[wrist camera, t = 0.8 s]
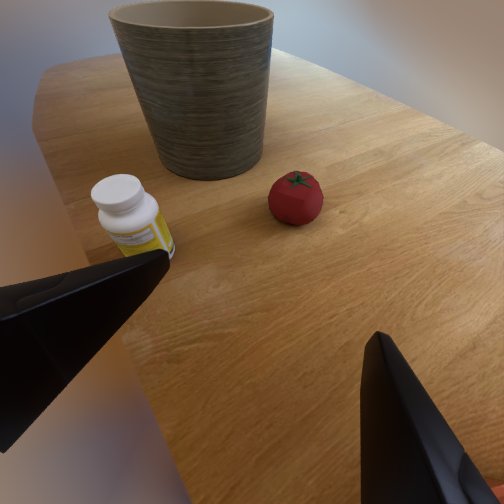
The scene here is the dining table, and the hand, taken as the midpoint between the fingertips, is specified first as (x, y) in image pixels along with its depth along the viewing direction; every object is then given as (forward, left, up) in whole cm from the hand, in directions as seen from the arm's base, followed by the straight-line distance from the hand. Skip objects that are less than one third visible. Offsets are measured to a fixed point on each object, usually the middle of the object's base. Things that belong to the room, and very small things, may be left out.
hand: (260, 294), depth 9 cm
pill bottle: (+1, +20, -17) cm, 26 cm away
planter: (+24, +35, -17) cm, 46 cm away
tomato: (+21, +11, -17) cm, 29 cm away
